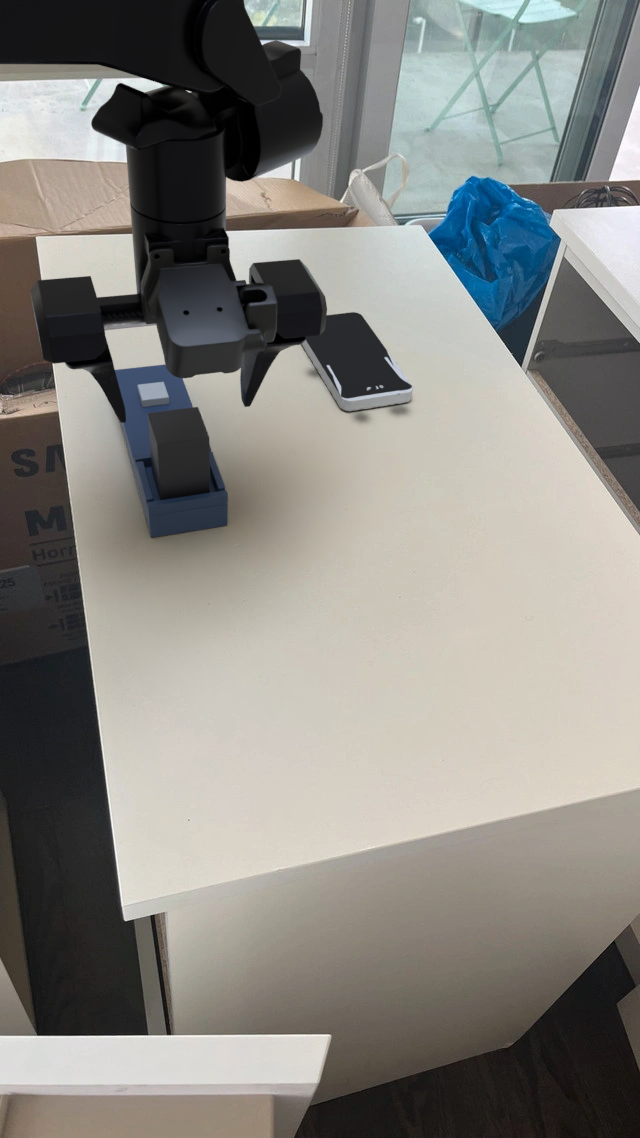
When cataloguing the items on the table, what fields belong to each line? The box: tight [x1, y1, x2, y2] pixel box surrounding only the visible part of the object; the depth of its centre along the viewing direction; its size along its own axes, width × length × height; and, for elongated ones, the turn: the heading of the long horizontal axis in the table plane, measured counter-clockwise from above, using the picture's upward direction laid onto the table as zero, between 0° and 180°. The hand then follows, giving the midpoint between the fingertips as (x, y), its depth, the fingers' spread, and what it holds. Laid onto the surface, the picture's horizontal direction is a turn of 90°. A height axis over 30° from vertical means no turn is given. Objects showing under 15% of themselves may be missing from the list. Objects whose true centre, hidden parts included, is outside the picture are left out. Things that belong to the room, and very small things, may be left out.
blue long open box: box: [115, 363, 229, 539], centre depth 75 cm, size 6×20×4 cm, turn 18°
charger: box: [148, 406, 211, 500], centre depth 68 cm, size 4×4×6 cm
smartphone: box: [301, 311, 414, 412], centre depth 87 cm, size 8×1×15 cm
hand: (185, 411), depth 63 cm, fingers open, 9 cm apart
